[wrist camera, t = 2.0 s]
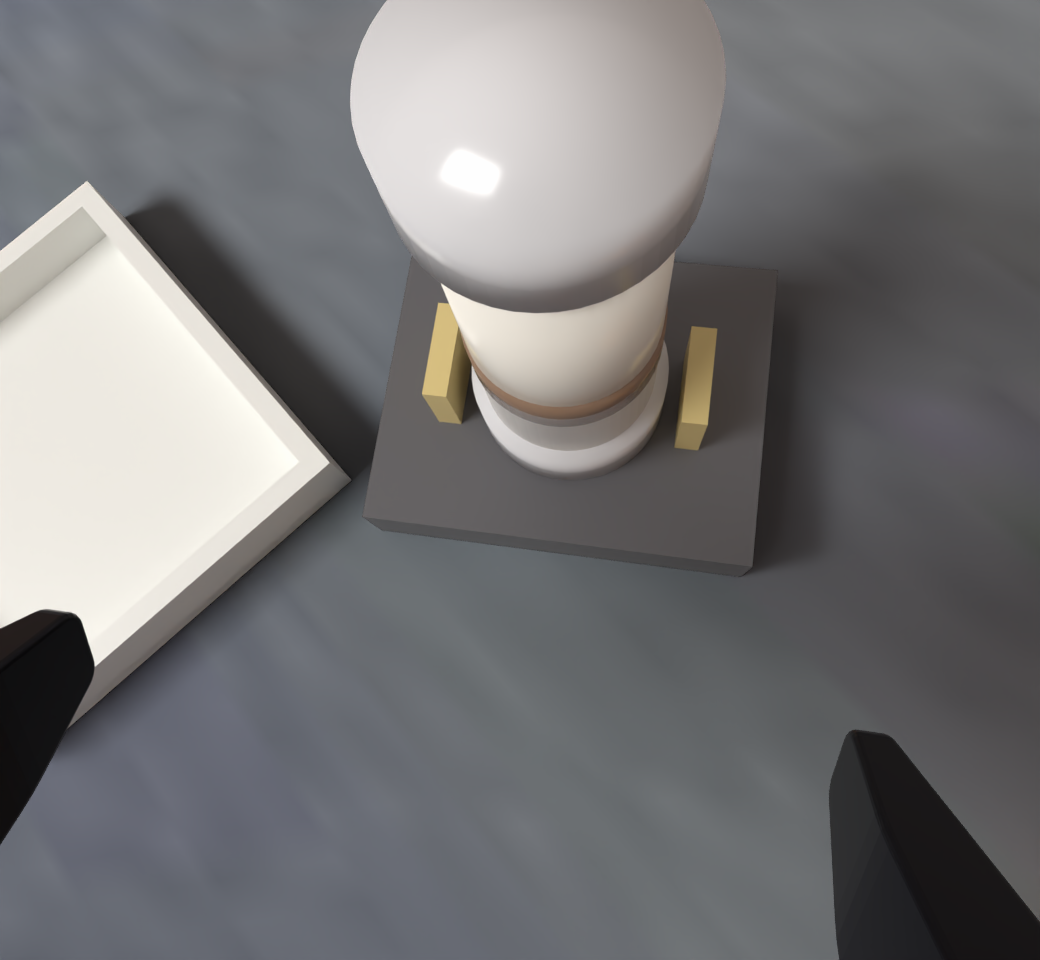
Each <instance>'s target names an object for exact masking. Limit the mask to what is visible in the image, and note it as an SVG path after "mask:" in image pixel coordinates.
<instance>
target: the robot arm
mask: <svg viewBox="0 0 1040 960" xmlns="http://www.w3.org/2000/svg"><path fill="white" fill-rule="evenodd" d="M94 670H95V662H94V658H93V655H92V652H91V649H90V646H89V643H88V639H87V636H86V633H85V630H84V627H83V624H82V621H81V619H80V618H79V617H78V616H77V615H76V614H74V613H72V612H65V611H59V610H52V609H42V610H38V611H36V612H34V613H31V614H29V615H27V616H25V617H23V618H21V619H19V620H17V621H15V622H13V623H11V624H9V625H6V626H4V627H2V628H0V845H1V843H2V841H3V840H4V838H5V837H6V835H7V834H8V832H9V831H10V829H11V828H12V826H13V825H14V823H15V821H16V820H17V818H18V817H19V815H20V814H21V812H22V811H23V809H24V807H25V806H26V804H27V802H28V801H29V799H30V798H31V796H32V794H33V793H34V791H35V789H36V787H37V785H38V784H39V782H40V780H41V778H42V776H43V775H44V773H45V771H46V769H47V767H48V765H49V763H50V761H51V759H52V757H53V755H54V753H55V751H56V750H57V748H58V746H59V744H60V742H61V740H62V738H63V736H64V734H65V732H66V730H67V728H68V726H69V725H70V723H71V721H72V719H73V717H74V715H75V713H76V711H77V709H78V707H79V705H80V703H81V701H82V699H83V698H84V696H85V694H86V692H87V690H88V688H89V686H90V684H91V682H92V679H93V676H94ZM829 809H830V829H831V849H832V868H833V888H834V908H835V925H836V939H837V947H838V954H839V960H1040V921H1039V920H1038V919H1037V918H1036V916H1035V915H1034V914H1033V913H1032V911H1031V910H1030V909H1029V908H1028V906H1027V905H1026V904H1025V903H1024V901H1023V900H1022V899H1021V898H1020V896H1019V895H1018V894H1017V893H1016V891H1015V890H1014V889H1013V888H1012V886H1011V885H1010V884H1009V883H1008V881H1007V880H1006V879H1005V878H1004V876H1003V875H1002V874H1001V873H1000V871H999V870H998V869H997V868H996V866H995V865H994V864H993V863H992V861H991V860H990V859H989V858H988V856H987V855H986V854H985V853H984V851H983V850H982V849H981V848H980V846H979V845H978V844H977V843H976V841H975V840H974V839H973V838H972V836H971V835H970V834H969V833H968V831H967V830H966V829H965V828H964V826H963V825H962V824H961V823H960V821H959V820H958V819H957V818H956V816H955V815H954V814H953V813H952V811H951V810H950V809H949V808H948V806H947V805H946V804H945V803H944V801H943V800H942V799H941V798H940V796H939V795H938V794H937V793H936V791H935V790H934V789H933V788H932V786H931V785H930V784H929V783H928V781H927V780H926V779H925V778H924V776H923V775H922V774H921V773H920V771H919V770H918V769H917V768H916V766H915V765H914V764H913V763H912V761H911V760H910V759H909V758H908V756H907V755H906V754H905V753H904V751H903V750H902V749H901V748H900V746H899V745H898V744H897V743H896V741H895V740H894V739H893V738H891V737H890V736H888V735H886V734H882V733H875V732H869V731H862V730H852V731H850V732H849V733H848V734H847V735H846V737H845V740H844V743H843V746H842V748H841V751H840V754H839V757H838V760H837V763H836V766H835V769H834V772H833V775H832V778H831V783H830V790H829Z"/></svg>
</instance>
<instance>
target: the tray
mask: <svg viewBox="0 0 1040 960" xmlns="http://www.w3.org/2000/svg"><path fill="white" fill-rule="evenodd" d="M350 481H351V479H350V478H349V477H348V475H347V474H346V473H345V472H344V471H343V470H342V468H341V467H340V466H339V465H338V464H337V463H336V462H335V460H334V459H333V458H332V457H331V456H330V455H329V453H328V452H327V451H326V450H325V449H324V448H323V446H322V445H321V444H320V443H319V442H318V441H317V440H316V438H315V437H314V436H313V435H312V434H311V433H310V431H309V430H308V429H307V428H306V427H305V426H304V424H303V423H302V422H301V421H300V420H299V419H298V418H297V416H296V415H295V414H294V413H293V412H292V411H291V409H290V408H289V407H288V406H287V405H286V404H285V403H284V401H283V400H282V399H281V398H280V397H279V396H278V394H277V393H276V392H275V391H274V390H273V389H272V387H271V386H270V385H269V384H268V383H267V382H266V381H265V379H264V378H263V377H262V376H261V375H260V374H259V372H258V371H257V370H256V369H255V368H254V367H253V365H252V364H251V363H250V362H249V361H248V360H247V359H246V357H245V356H244V355H243V354H242V353H241V352H240V350H239V349H238V348H237V347H236V346H235V345H234V344H233V342H232V341H231V340H230V339H229V338H228V337H227V335H226V334H225V333H224V332H223V331H222V330H221V328H220V327H219V326H218V325H217V324H216V323H215V322H214V320H213V319H212V318H211V317H210V316H209V315H208V313H207V312H206V311H205V310H204V309H203V308H202V306H201V305H200V304H199V303H198V302H197V301H196V300H195V298H194V297H193V296H192V295H191V294H190V293H189V291H188V290H187V289H186V288H185V287H184V286H183V285H182V283H181V282H180V281H179V280H178V279H177V278H176V276H175V275H174V274H173V273H172V272H171V271H170V269H169V268H168V267H167V266H166V265H165V264H164V263H163V261H162V260H161V259H160V258H159V257H158V256H157V254H156V253H155V252H154V251H153V250H152V249H151V247H150V246H149V245H148V244H147V243H146V242H145V241H144V239H143V238H142V237H141V236H140V235H139V234H138V232H137V231H136V230H135V229H134V228H133V227H132V226H131V224H130V223H129V222H128V221H127V220H126V219H125V217H124V216H123V215H122V214H121V213H120V212H119V211H118V210H116V209H115V208H114V207H113V206H112V205H111V204H110V203H109V202H108V201H107V200H106V199H105V198H104V197H103V196H102V195H101V194H100V193H99V192H98V191H97V190H96V189H95V188H94V187H93V186H92V185H91V184H90V183H89V182H88V181H86V182H85V183H84V184H83V185H81V186H80V187H79V188H78V189H77V190H75V191H74V192H73V193H72V194H70V195H69V196H68V197H67V198H65V199H64V200H63V201H62V202H60V203H59V204H58V205H57V206H55V207H54V208H53V209H52V210H51V211H49V212H48V213H47V214H46V215H44V216H43V217H42V218H41V219H39V220H38V221H37V222H36V223H34V224H33V225H32V226H31V227H29V228H28V229H27V230H26V231H25V232H23V233H22V234H21V235H20V236H18V237H17V238H16V239H15V240H13V241H12V242H11V243H10V244H8V245H7V246H6V247H5V248H3V249H2V250H1V251H0V628H2V627H4V626H6V625H9V624H11V623H13V622H15V621H17V620H19V619H21V618H23V617H25V616H27V615H29V614H31V613H34V612H36V611H38V610H42V609H52V610H59V611H65V612H72V613H74V614H76V615H77V616H78V617H79V618H80V619H81V621H82V624H83V627H84V630H85V633H86V636H87V639H88V643H89V646H90V649H91V652H92V655H93V658H94V662H95V670H94V676H93V679H92V682H91V684H90V686H89V688H88V690H87V692H86V694H85V696H84V698H83V699H82V701H81V703H80V705H79V707H78V709H77V711H76V713H75V715H74V717H73V719H72V721H71V723H70V725H69V726H68V728H69V727H70V726H71V725H72V724H73V723H75V722H76V721H77V720H78V719H79V718H80V717H81V716H83V715H84V714H85V713H86V712H87V711H88V710H89V709H91V708H92V707H93V706H94V705H95V704H96V703H97V702H99V701H100V700H101V699H102V698H103V697H104V696H105V695H107V694H108V693H109V692H110V691H111V690H112V689H113V688H115V687H116V686H117V685H118V684H119V683H120V682H121V681H123V680H124V679H125V678H126V677H127V676H128V675H129V674H131V673H132V672H133V671H134V670H135V669H136V668H137V667H139V666H140V665H141V664H142V663H143V662H144V661H145V660H147V659H148V658H149V657H150V656H151V655H152V654H153V653H155V652H156V651H157V650H158V649H159V648H160V647H162V646H163V645H164V644H165V643H166V642H167V641H168V640H170V639H171V638H172V637H173V636H174V635H175V634H176V633H178V632H179V631H180V630H181V629H182V628H183V627H184V626H186V625H187V624H188V623H189V622H190V621H191V620H192V619H194V618H195V617H196V616H197V615H198V614H199V613H200V612H202V611H203V610H204V609H205V608H206V607H207V606H208V605H210V604H211V603H212V602H213V601H214V600H215V599H216V598H218V597H219V596H220V595H221V594H222V593H223V592H224V591H226V590H227V589H228V588H229V587H230V586H231V585H232V584H234V583H235V582H236V581H237V580H238V579H239V578H240V577H242V576H243V575H244V574H245V573H246V572H247V571H248V570H250V569H251V568H252V567H253V566H254V565H255V564H256V563H258V562H259V561H260V560H261V559H262V558H263V557H264V556H266V555H267V554H268V553H269V552H270V551H271V550H272V549H274V548H275V547H276V546H277V545H278V544H279V543H281V542H282V541H283V540H284V539H285V538H286V537H287V536H289V535H290V534H291V533H292V532H293V531H294V530H295V529H297V528H298V527H299V526H300V525H301V524H302V523H303V522H305V521H306V520H307V519H308V518H309V517H310V516H311V515H313V514H314V513H315V512H316V511H317V510H318V509H319V508H321V507H322V506H323V505H324V504H325V503H326V502H327V501H329V500H330V499H331V498H332V497H333V496H334V495H335V494H337V493H338V492H339V491H340V490H341V489H342V488H343V487H345V486H346V485H347V484H348V483H349V482H350ZM68 728H67V729H68Z"/></svg>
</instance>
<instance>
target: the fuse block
mask: <svg viewBox="0 0 1040 960" xmlns="http://www.w3.org/2000/svg"><path fill="white" fill-rule="evenodd" d="M777 274H778V270H766V269H754V268H742V267H730V266H718V265H706V264H694V263H682V262H674V264H673V270H672V276H671V283H670V289H669V296H668V302H667V307H668V314H667V324H666V331H665V337H664V341H665V344H666V348H667V354H668V362H669V374H668V383H667V388H666V393H665V399H664V404H663V408H662V412H661V417H660V419H659V422H658V425H657V427H656V429H655V431H654V433H653V435H652V437H651V438H650V440H649V441H648V442H647V444H646V445H645V446H644V448H643V449H642V450H641V451H640V452H639V453H638V454H637V455H636V456H635V457H634V458H633V459H631V460H630V461H629V462H627V463H626V464H625V465H623V466H621V467H620V468H618V469H616V470H614V471H612V472H610V473H608V474H605V475H603V476H599V477H596V478H592V479H586V480H577V481H565V480H555V479H551V478H547V477H543V476H540V475H538V474H535V473H532V472H530V471H529V470H527V469H525V468H523V467H521V466H520V465H519V464H517V463H516V462H514V461H513V460H512V459H511V458H510V457H509V456H508V455H506V454H505V453H504V451H503V450H502V449H501V448H500V447H499V445H498V444H497V443H496V441H495V439H494V438H493V436H492V434H491V432H490V430H489V428H488V426H487V424H486V422H485V420H484V417H483V415H482V413H481V411H480V408H479V406H478V404H477V402H476V398H475V394H474V391H473V384H472V363H471V361H470V359H469V356H468V354H467V352H466V349H465V347H464V344H463V340H462V337H461V332H460V329H459V326H458V324H457V321H456V319H455V317H454V314H453V312H452V309H451V307H450V305H449V302H448V300H447V297H446V295H445V292H444V290H443V288H442V285H441V283H440V282H439V281H437V280H436V279H435V278H434V277H432V276H431V275H430V274H429V273H428V272H427V271H426V270H425V269H423V268H422V267H421V265H420V264H419V263H418V262H417V261H416V259H415V258H414V257H413V256H412V257H411V262H410V267H409V272H408V278H407V283H406V288H405V293H404V299H403V304H402V309H401V315H400V320H399V325H398V330H397V336H396V341H395V346H394V352H393V357H392V362H391V367H390V373H389V378H388V383H387V389H386V394H385V399H384V404H383V410H382V415H381V420H380V426H379V431H378V436H377V441H376V447H375V452H374V457H373V462H372V468H371V473H370V478H369V484H368V489H367V494H366V499H365V505H364V510H363V515H362V517H363V518H365V519H366V520H368V521H369V522H371V523H372V524H373V525H375V526H376V527H378V528H379V529H381V530H383V531H391V532H399V533H407V534H414V535H422V536H430V537H437V538H445V539H453V540H460V541H468V542H476V543H484V544H491V545H499V546H507V547H514V548H522V549H530V550H537V551H545V552H553V553H560V554H568V555H576V556H584V557H591V558H599V559H607V560H614V561H622V562H630V563H637V564H645V565H653V566H661V567H668V568H676V569H684V570H691V571H699V572H707V573H714V574H722V575H730V576H738V577H741V576H742V575H743V574H744V573H746V572H747V571H748V570H749V569H750V568H752V567H753V555H754V543H755V532H756V520H757V508H758V497H759V485H760V473H761V461H762V450H763V438H764V426H765V415H766V403H767V391H768V379H769V368H770V356H771V344H772V333H773V321H774V309H775V297H776V286H777Z"/></svg>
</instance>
